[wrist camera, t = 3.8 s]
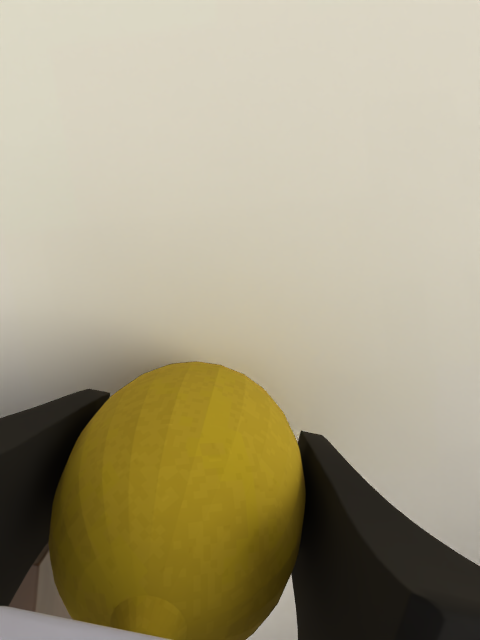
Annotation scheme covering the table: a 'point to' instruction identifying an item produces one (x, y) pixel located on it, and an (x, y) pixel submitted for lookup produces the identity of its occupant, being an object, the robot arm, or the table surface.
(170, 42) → the table surface
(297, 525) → the lemon
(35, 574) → the caddy
